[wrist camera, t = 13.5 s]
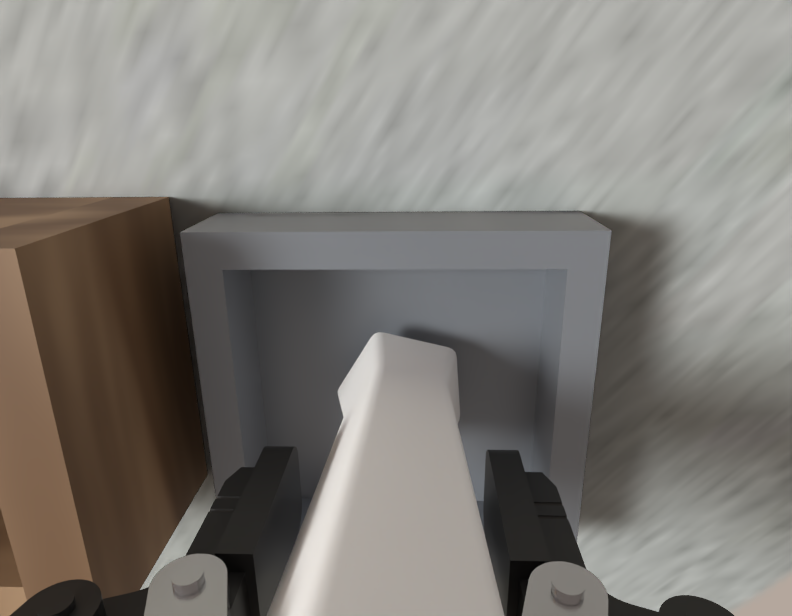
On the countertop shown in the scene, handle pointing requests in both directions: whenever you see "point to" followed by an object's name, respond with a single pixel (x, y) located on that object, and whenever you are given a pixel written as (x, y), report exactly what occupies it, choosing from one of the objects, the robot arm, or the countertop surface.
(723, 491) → the countertop surface
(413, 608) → the perfume bottle
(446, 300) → the tray
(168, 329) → the wooden cubby box
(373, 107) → the countertop surface
